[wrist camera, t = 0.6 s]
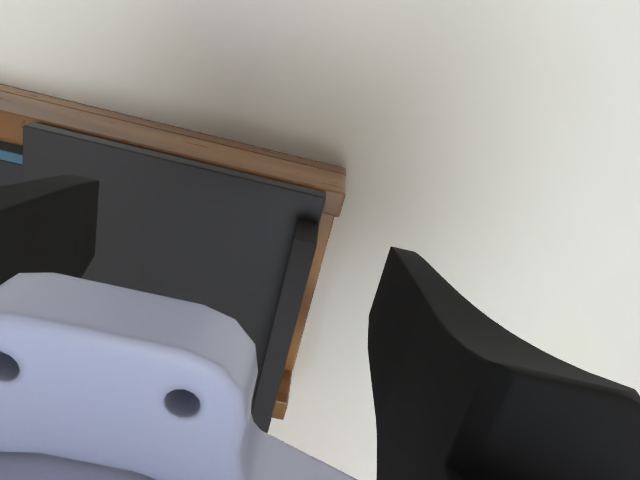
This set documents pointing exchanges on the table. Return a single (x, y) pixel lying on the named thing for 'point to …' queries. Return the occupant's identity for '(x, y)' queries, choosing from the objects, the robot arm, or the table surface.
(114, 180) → the lid
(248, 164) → the brown wooden shelf
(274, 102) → the table surface
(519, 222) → the table surface
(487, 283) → the table surface
